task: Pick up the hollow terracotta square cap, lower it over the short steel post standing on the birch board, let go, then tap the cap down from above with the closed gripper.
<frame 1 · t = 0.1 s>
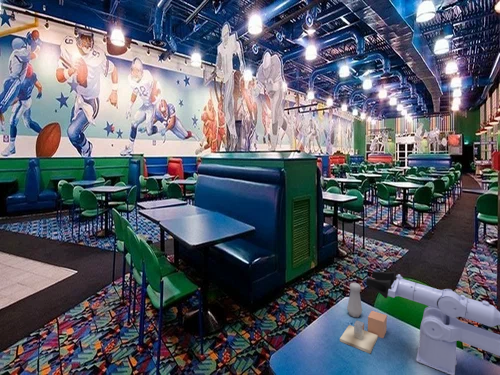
hand: (369, 277, 91), 22 cm above the table, tool horizontal, fingers open, 7 cm apart
steel post: (359, 330, 91), on the birch board, point 4 cm above the table
salt shaker: (354, 315, 106), on the table
terracotta cap: (377, 331, 95), on the table
birch board: (358, 339, 91), on the table
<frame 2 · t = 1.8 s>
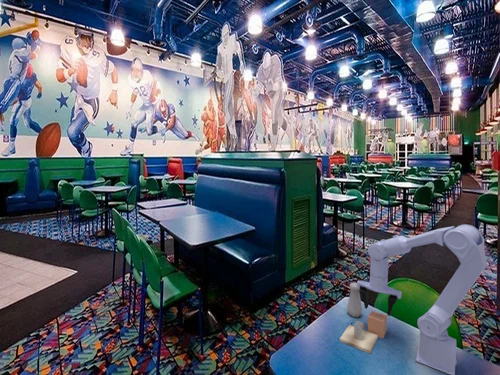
hand: (377, 310, 94), 8 cm above the table, tool pointing down, fingers open, 7 cm apart
nothing on the table moved.
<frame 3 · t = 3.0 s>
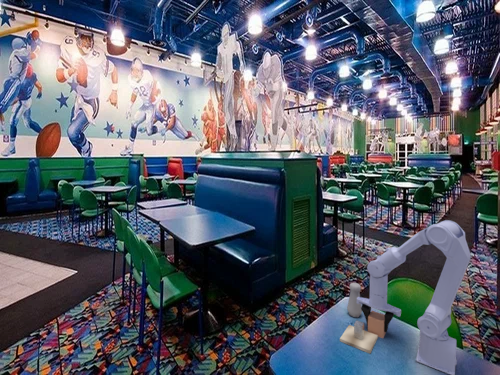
hand: (377, 327, 95), 2 cm above the table, tool pointing down, fingers closed on terracotta cap, 5 cm apart
terracotta cap: (377, 331, 95), on the table, touching gripper
everything else where it was.
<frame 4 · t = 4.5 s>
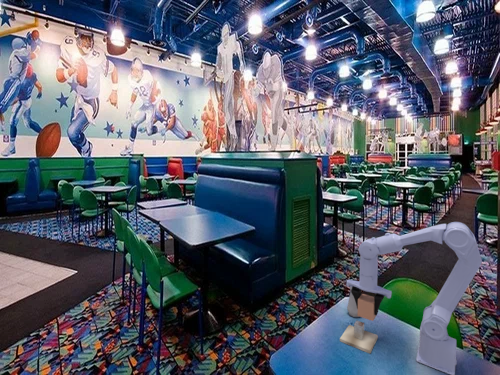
hand: (367, 310, 92), 9 cm above the table, tool pointing down, fingers closed on terracotta cap, 5 cm apart
terracotta cap: (367, 315, 92), point 8 cm above the table, touching gripper
everything else where it was.
when the fingers open (4 cm above the table, at t = 6.5 s): terracotta cap drops 2 cm, resting on birch board.
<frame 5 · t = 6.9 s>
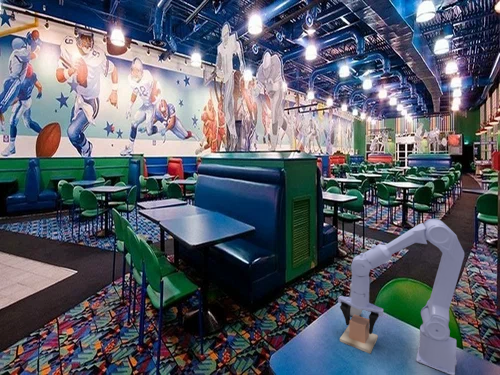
hand: (359, 328, 91), 4 cm above the table, tool pointing down, fingers open, 7 cm apart
terracotta cap: (359, 336, 91), point 1 cm above the table, touching birch board
everything else where it was.
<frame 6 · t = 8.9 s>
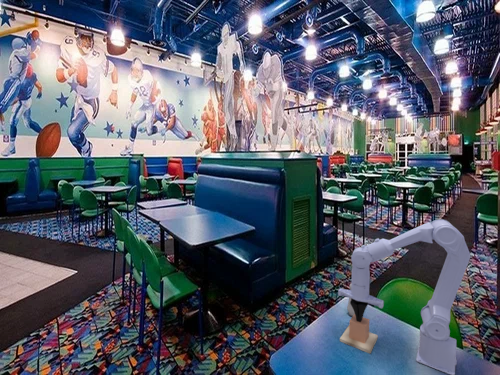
hand: (359, 320, 90), 7 cm above the table, tool pointing down, fingers closed, pressing on terracotta cap
terracotta cap: (359, 336, 91), point 1 cm above the table, touching birch board, gripper
everything else where it was.
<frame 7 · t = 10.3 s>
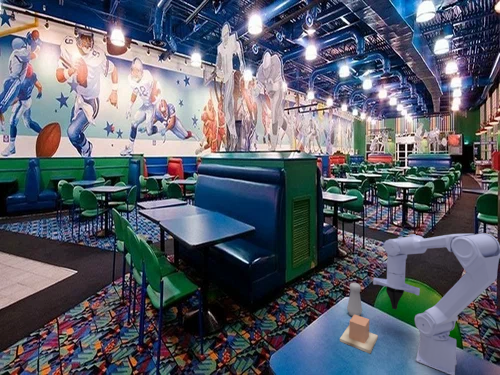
hand: (394, 307, 94), 9 cm above the table, tool pointing down, fingers closed
terracotta cap: (359, 336, 91), point 1 cm above the table, touching birch board
everything else where it was.
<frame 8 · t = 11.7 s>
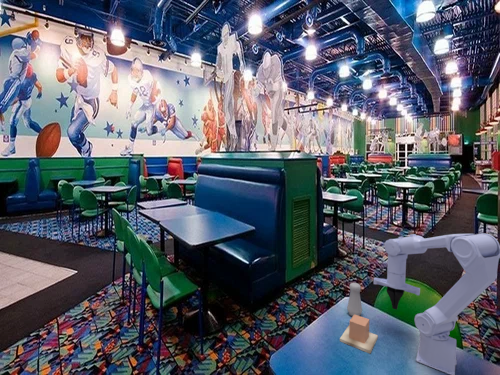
hand: (395, 307, 94), 9 cm above the table, tool pointing down, fingers closed
nothing on the table moved.
at the end: terracotta cap 0.1 cm from the steel post (horizontally); terracotta cap point 1.0 cm above the table; terracotta cap tilted 0° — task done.
